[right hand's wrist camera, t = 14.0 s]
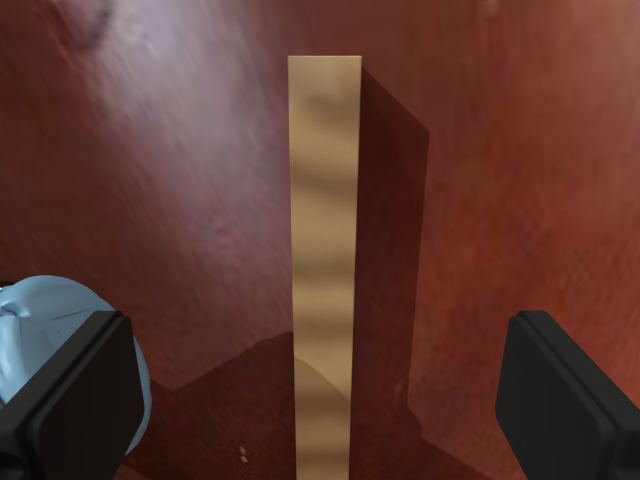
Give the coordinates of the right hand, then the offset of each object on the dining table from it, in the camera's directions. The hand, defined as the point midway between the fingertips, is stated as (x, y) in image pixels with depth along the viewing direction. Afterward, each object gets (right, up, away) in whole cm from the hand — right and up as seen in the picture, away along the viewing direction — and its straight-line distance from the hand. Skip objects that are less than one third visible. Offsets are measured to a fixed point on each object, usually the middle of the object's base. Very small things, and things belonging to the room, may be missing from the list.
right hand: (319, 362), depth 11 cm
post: (0, -9, +34) cm, 36 cm away
